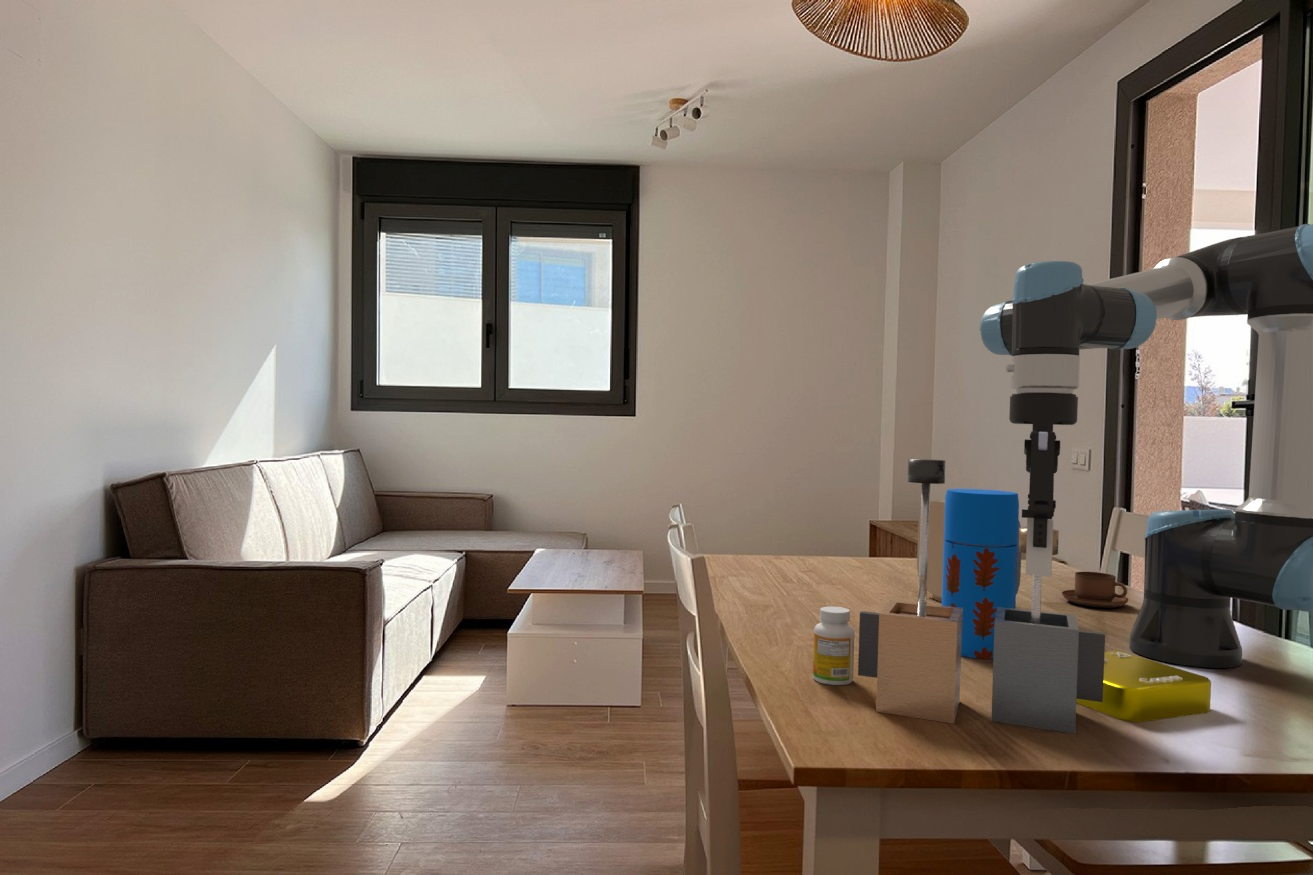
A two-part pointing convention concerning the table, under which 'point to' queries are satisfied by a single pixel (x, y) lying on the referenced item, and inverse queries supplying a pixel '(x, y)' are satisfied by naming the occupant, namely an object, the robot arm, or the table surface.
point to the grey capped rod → (925, 517)
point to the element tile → (1149, 690)
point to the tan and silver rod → (1036, 579)
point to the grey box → (1044, 669)
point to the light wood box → (913, 659)
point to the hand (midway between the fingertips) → (1037, 567)
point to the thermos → (980, 562)
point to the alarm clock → (937, 547)
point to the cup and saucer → (1096, 590)
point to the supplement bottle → (833, 647)
